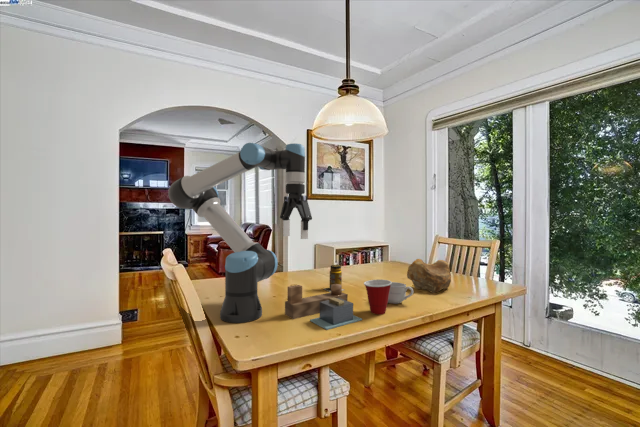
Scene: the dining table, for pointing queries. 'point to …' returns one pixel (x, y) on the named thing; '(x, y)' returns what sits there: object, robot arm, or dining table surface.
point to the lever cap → (336, 311)
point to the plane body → (308, 301)
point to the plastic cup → (378, 295)
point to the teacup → (398, 292)
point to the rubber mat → (330, 326)
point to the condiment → (335, 276)
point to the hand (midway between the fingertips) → (294, 237)
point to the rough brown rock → (429, 275)
